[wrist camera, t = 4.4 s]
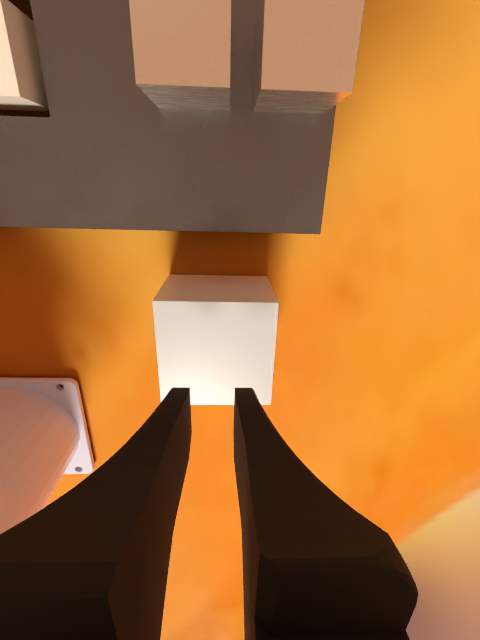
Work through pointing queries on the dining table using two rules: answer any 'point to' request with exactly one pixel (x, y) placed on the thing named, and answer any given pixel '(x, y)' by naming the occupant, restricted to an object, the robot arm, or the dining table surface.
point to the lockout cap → (216, 336)
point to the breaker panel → (180, 115)
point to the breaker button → (20, 62)
